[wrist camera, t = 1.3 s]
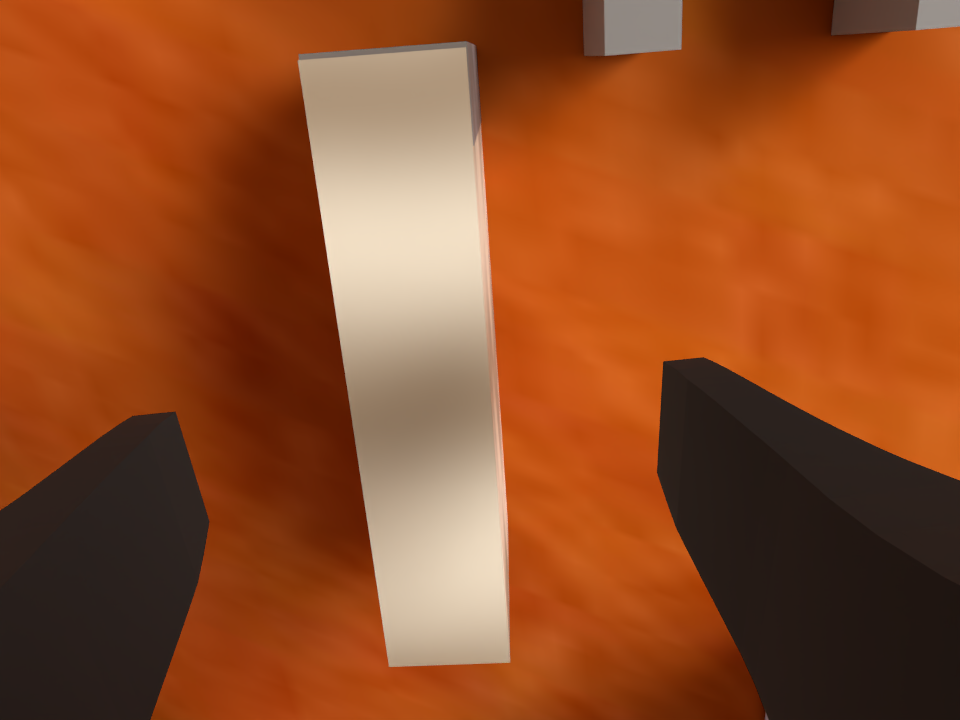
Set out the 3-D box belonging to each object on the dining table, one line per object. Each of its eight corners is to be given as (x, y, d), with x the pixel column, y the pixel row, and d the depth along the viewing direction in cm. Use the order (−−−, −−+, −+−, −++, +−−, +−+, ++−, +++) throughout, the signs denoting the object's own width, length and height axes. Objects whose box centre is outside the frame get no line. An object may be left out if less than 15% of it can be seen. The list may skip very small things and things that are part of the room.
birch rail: (508, 521, 24) (510, 662, 18) (414, 526, 24) (388, 667, 19) (476, 45, 19) (466, 41, 13) (356, 55, 19) (295, 54, 13)
